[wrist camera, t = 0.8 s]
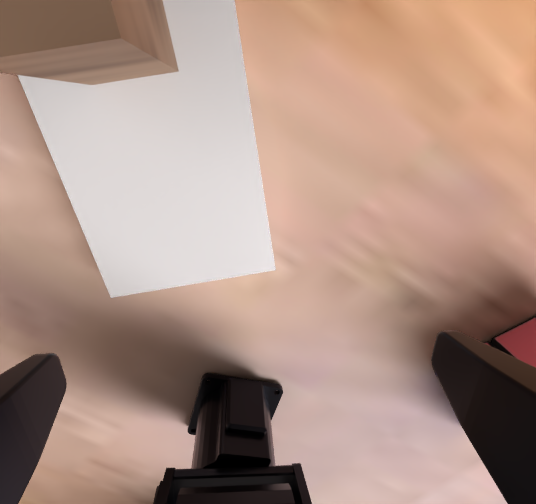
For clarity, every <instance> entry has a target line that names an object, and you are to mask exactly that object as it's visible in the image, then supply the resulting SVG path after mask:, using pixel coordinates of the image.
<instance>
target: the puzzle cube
mask: <svg viewBox="0 0 536 504" xmlns="http://www.w3.org/2000/svg"><path fill="white" fill-rule="evenodd" d="M485 344H487V345H489V346H491V347H493V348H495V349H498V350H500V351H502V352H504V353H506V354H508V355H510V356H512V357H515V358H517V359H519V360H521V361H523V362H525V363H527V364H529V365H531V366H534V367H536V317H534V318H532V319H530V320H528V321H526V322H524V323H522V324H520V325H518V326H516V327H514V328H513V329H511V330H509V331H507V332H505V333H503V334H501V335H499V336H497V337H495V338H493V339H492V343H487V342H485Z"/></svg>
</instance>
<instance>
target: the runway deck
mask: <svg viewBox="0 0 536 504" xmlns="http://www.w3.org/2000/svg"><path fill="white" fill-rule="evenodd" d="M163 5H164V9H165V13H166V18H167V22H168V26H169V31H170V35H171V39H172V44H173V48H174V52H175V57H176V61H177V65H178V70H179V72H172V73H166V74H160V75H153V76H147V77H141V78H134V79H128V80H122V81H115V82H109V83H103V84H96V85H87V84H79V83H72V82H65V81H58V80H50V79H43V78H36V77H29V76H21V75H18V77H19V80H20V82H21V85H22V87H23V89H24V92H25V94H26V96H27V99H28V101H29V104H30V106H31V108H32V111H33V113H34V116H35V118H36V120H37V123H38V125H39V127H40V130H41V132H42V135H43V137H44V139H45V142H46V144H47V147H48V149H49V151H50V154H51V156H52V158H53V161H54V163H55V166H56V168H57V170H58V173H59V175H60V178H61V180H62V182H63V185H64V187H65V190H66V192H67V194H68V197H69V199H70V201H71V204H72V206H73V209H74V211H75V213H76V216H77V218H78V221H79V223H80V225H81V228H82V230H83V232H84V235H85V237H86V240H87V242H88V244H89V247H90V249H91V252H92V254H93V256H94V259H95V261H96V263H97V266H98V268H99V271H100V273H101V275H102V278H103V280H104V283H105V285H106V287H107V290H108V292H109V295H110V297H111V298H114V297H120V296H125V295H131V294H137V293H143V292H149V291H155V290H161V289H167V288H173V287H179V286H185V285H191V284H196V283H202V282H208V281H214V280H220V279H226V278H232V277H238V276H244V275H250V274H256V273H262V272H268V271H273V270H276V269H275V262H274V256H273V249H272V243H271V236H270V230H269V223H268V217H267V210H266V203H265V197H264V190H263V184H262V177H261V171H260V164H259V158H258V151H257V145H256V138H255V131H254V125H253V118H252V112H251V105H250V99H249V92H248V86H247V79H246V73H245V66H244V59H243V53H242V46H241V40H240V33H239V27H238V20H237V14H236V7H235V1H234V0H163Z"/></svg>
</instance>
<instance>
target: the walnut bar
mask: <svg viewBox="0 0 536 504" xmlns="http://www.w3.org/2000/svg"><path fill="white" fill-rule="evenodd" d="M172 72H179V70H178V65H177V61H176V57H175V52H174V48H173V44H172V39H171V35H170V31H169V26H168V22H167V18H166V13H165V9H164V5H163V0H0V73H7V74H14V75H21V76H29V77H36V78H43V79H50V80H58V81H65V82H72V83H79V84H87V85H96V84H103V83H109V82H115V81H122V80H128V79H134V78H141V77H147V76H153V75H160V74H166V73H172Z"/></svg>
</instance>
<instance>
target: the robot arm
mask: <svg viewBox="0 0 536 504" xmlns="http://www.w3.org/2000/svg"><path fill="white" fill-rule="evenodd" d="M431 361H432V366H433V368H434V371H435V373H436V375H437V377H438V379H439V381H440V383H441V385H442V387H443V389H444V391H445V393H446V396H447V398H448V400H449V402H450V404H451V406H452V408H453V410H454V412H455V414H456V416H457V418H458V420H459V422H460V424H461V426H462V428H463V430H464V431H465V433H466V435H467V437H468V438H469V440H470V442H471V443H472V445H473V447H474V448H475V450H476V452H477V453H478V455H479V457H480V458H481V460H482V462H483V463H484V465H485V467H486V468H487V470H488V472H489V473H490V475H491V477H492V478H493V480H494V482H495V483H496V485H497V487H498V488H499V490H500V492H501V493H502V495H503V497H504V498H505V500H506V502H507V503H508V504H536V367H534V366H531V365H529V364H527V363H525V362H523V361H521V360H519V359H517V358H515V357H512V356H510V355H508V354H506V353H504V352H502V351H500V350H498V349H495V348H493V347H491V346H489V345H487V344H485V343H483V342H481V341H478V340H476V339H474V338H472V337H470V336H468V335H466V334H464V333H462V332H459V331H456V330H450V331H441V332H439V333H438V334H437V337H436V341H435V345H434V349H433V353H432V357H431ZM208 380H210V381H208ZM275 390H277V391H275ZM65 391H66V378H65V375H64V372H63V369H62V366H61V363H60V360H59V357H58V356H57V355H56V354H54V353H45V354H35V355H33V356H31V357H29V358H28V359H26V360H24V361H23V362H21V363H19V364H17V365H16V366H14V367H12V368H11V369H9V370H7V371H5V372H4V373H2V374H0V504H18V503H19V501H20V499H21V497H22V495H23V493H24V491H25V489H26V487H27V485H28V483H29V481H30V479H31V477H32V475H33V472H34V470H35V468H36V466H37V464H38V462H39V459H40V457H41V454H42V452H43V449H44V447H45V444H46V442H47V439H48V436H49V434H50V431H51V428H52V426H53V423H54V420H55V418H56V415H57V412H58V410H59V407H60V404H61V402H62V399H63V397H64V394H65ZM282 394H283V389H282V386H281V385H279V384H275V383H268V382H262V381H256V380H249V379H243V378H236V377H230V376H224V375H217V374H211V373H207V374H204V375H203V377H202V380H201V383H200V387H199V390H198V394H197V397H196V401H195V404H194V408H193V411H192V415H191V418H190V422H189V425H188V433H189V434H192V435H196V437H195V445H194V452H193V460H192V468H191V469H175V468H166V471H165V475H164V478H163V481H160V485H159V486H157V489H156V494H155V498H154V503H153V504H312V502H311V499H310V495H309V492H308V488H307V485H306V481H305V478H304V474H303V471H302V467H301V464H300V463H294V464H292V465H282V466H275V457H274V448H273V438H272V429H271V420H272V417H273V415H274V413H275V410H276V408H277V405H278V403H279V401H280V398H281V396H282Z"/></svg>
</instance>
